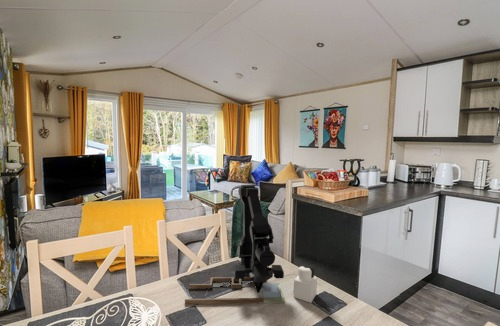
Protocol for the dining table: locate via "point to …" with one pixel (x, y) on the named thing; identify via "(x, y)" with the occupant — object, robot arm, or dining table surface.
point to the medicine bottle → (305, 283)
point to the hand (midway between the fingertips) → (258, 292)
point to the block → (270, 290)
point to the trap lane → (219, 282)
